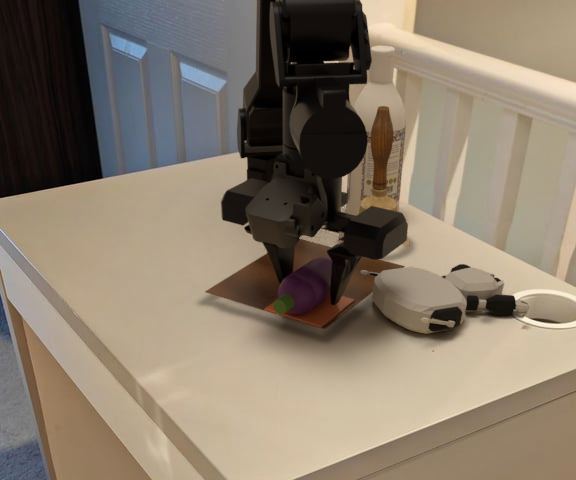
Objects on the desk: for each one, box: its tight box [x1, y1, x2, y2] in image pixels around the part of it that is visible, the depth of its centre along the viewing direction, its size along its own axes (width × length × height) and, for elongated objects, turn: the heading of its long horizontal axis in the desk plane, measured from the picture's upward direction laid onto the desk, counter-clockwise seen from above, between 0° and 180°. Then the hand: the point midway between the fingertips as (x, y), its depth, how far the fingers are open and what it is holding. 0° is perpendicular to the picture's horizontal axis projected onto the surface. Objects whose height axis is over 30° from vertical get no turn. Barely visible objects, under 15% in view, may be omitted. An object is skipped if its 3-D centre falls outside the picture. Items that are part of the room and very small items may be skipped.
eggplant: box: [273, 257, 332, 315], centre depth 86 cm, size 10×4×4 cm, turn 147°
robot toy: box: [360, 263, 530, 335], centre depth 88 cm, size 12×4×15 cm
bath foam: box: [345, 45, 407, 216], centre depth 104 cm, size 7×7×20 cm
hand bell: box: [359, 106, 410, 247], centre depth 98 cm, size 8×8×16 cm
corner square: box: [264, 296, 355, 328], centre depth 88 cm, size 7×7×1 cm
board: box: [204, 238, 405, 330], centre depth 94 cm, size 18×16×1 cm
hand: (310, 296), depth 88 cm, fingers open, 6 cm apart
